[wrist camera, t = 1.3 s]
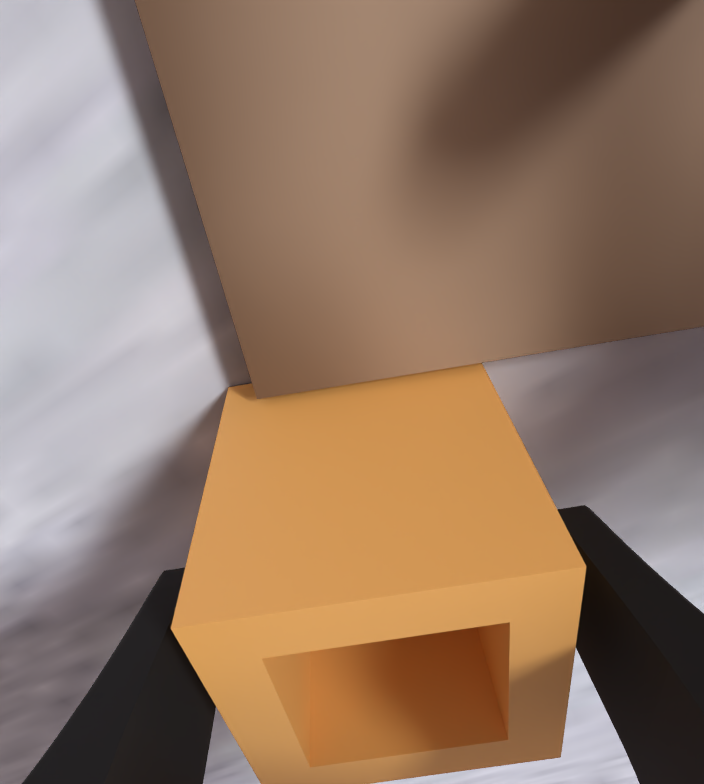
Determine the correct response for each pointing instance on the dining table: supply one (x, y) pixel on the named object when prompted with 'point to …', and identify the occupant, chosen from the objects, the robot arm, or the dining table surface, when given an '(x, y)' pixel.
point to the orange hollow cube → (380, 583)
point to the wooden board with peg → (439, 175)
